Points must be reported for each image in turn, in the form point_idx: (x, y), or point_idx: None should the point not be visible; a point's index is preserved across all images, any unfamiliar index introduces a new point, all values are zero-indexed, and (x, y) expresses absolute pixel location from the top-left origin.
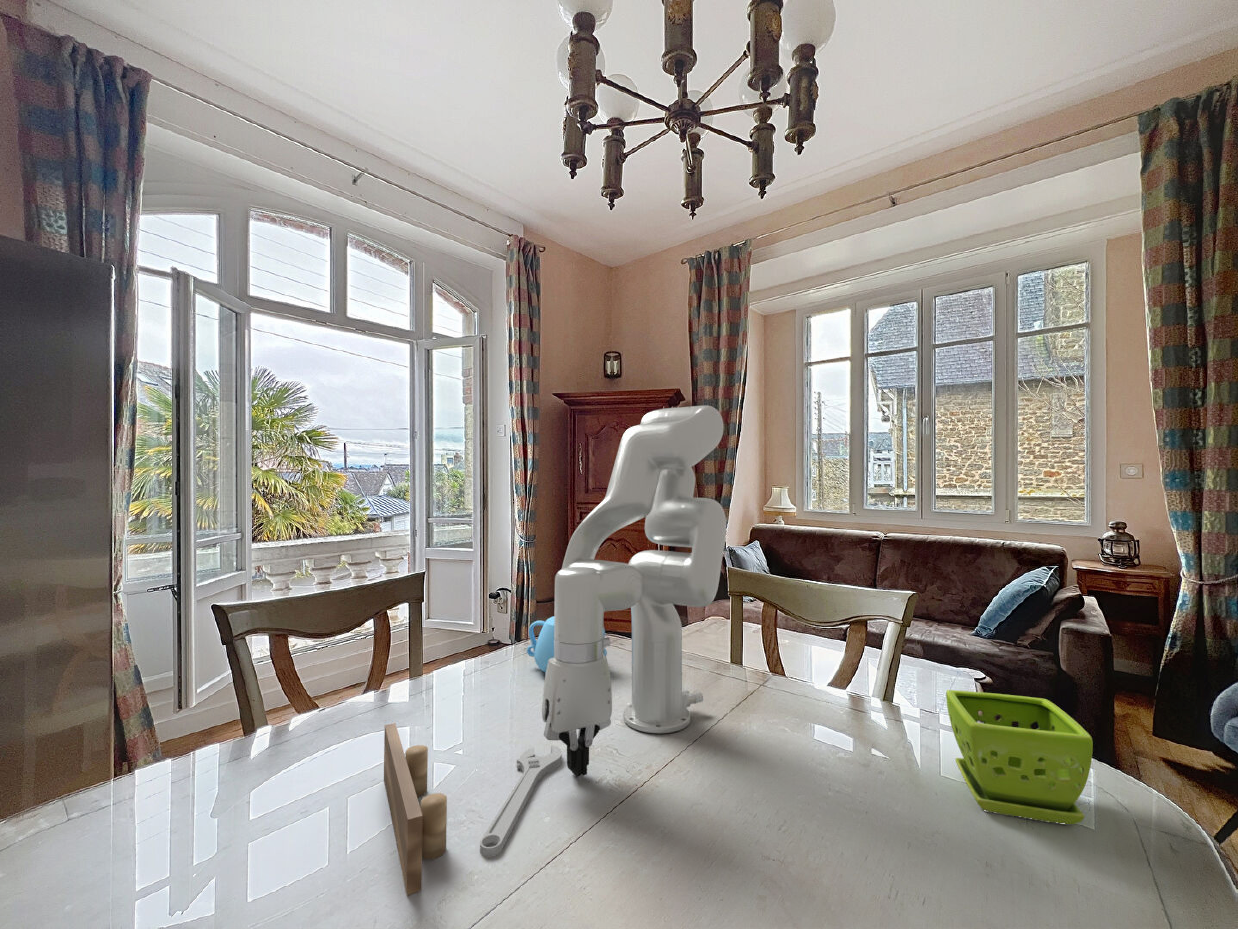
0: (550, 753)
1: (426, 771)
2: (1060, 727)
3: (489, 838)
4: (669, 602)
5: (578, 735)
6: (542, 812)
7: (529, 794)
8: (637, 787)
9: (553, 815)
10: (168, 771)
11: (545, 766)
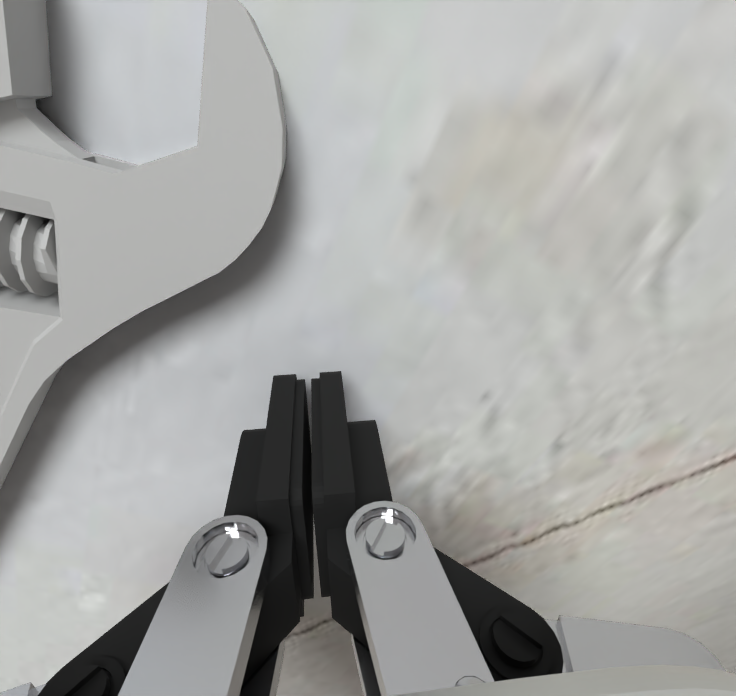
0: (172, 157)
1: None
2: None
3: None
4: None
5: (350, 553)
6: (75, 571)
7: (2, 478)
8: (506, 546)
9: (121, 593)
10: None
11: (102, 334)
